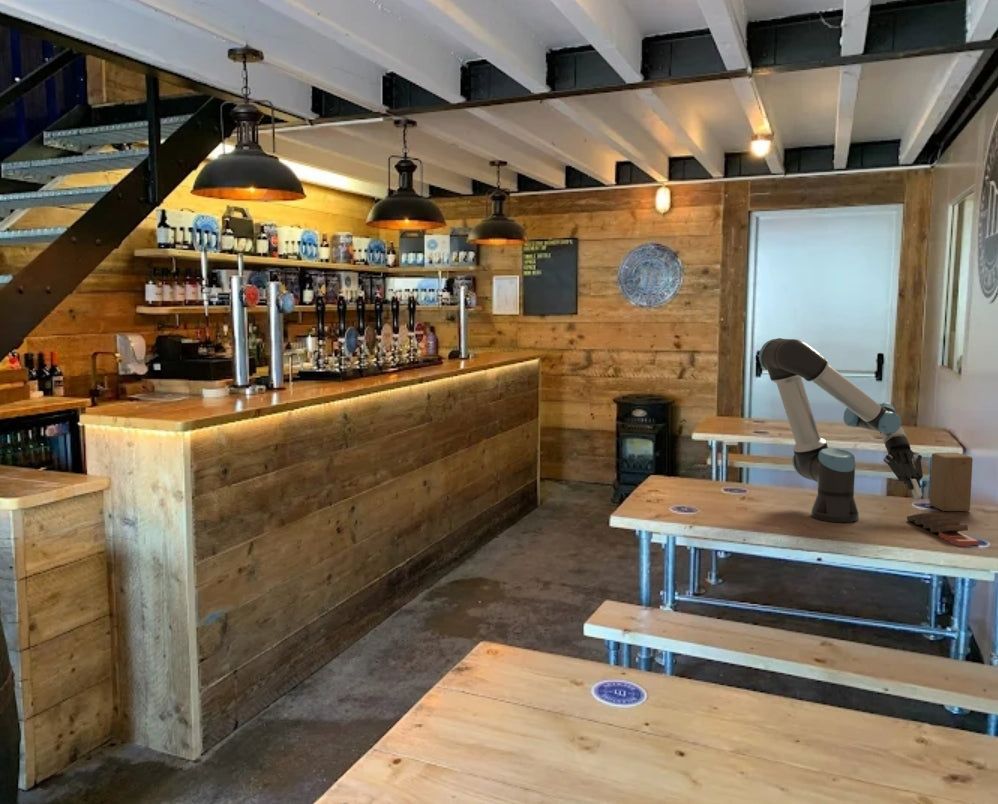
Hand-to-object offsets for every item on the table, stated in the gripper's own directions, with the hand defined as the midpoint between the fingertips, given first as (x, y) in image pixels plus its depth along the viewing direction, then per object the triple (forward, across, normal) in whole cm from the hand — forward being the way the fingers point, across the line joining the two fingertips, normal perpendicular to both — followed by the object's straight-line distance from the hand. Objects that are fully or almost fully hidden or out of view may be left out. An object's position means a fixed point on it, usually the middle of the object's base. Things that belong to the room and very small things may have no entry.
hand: (918, 497), depth 267 cm
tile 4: (+15, 0, +4) cm, 16 cm away
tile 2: (+8, 0, -3) cm, 9 cm away
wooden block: (-6, -21, -18) cm, 29 cm away
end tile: (+18, 0, +7) cm, 20 cm away
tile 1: (+5, 0, -6) cm, 8 cm away
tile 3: (+12, 0, +1) cm, 12 cm away
